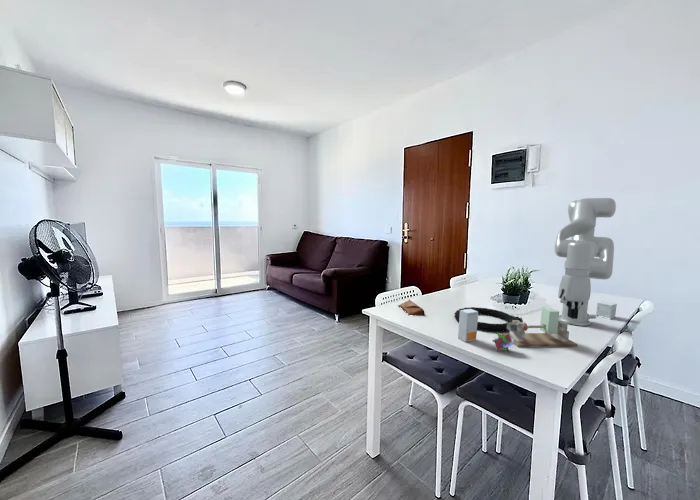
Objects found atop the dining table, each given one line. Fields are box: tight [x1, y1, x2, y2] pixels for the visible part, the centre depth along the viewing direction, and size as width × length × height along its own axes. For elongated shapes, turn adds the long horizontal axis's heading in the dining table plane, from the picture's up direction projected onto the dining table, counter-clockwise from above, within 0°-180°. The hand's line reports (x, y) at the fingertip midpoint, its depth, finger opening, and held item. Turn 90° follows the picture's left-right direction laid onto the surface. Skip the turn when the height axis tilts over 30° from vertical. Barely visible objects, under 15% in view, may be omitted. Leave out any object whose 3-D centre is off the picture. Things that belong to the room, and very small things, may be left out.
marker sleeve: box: [539, 307, 560, 334], centre depth 119 cm, size 4×4×9 cm
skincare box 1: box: [457, 309, 479, 343], centre depth 119 cm, size 6×4×12 cm
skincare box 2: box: [595, 300, 618, 319], centre depth 151 cm, size 6×6×7 cm
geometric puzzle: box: [492, 332, 515, 353], centre depth 110 cm, size 7×7×8 cm
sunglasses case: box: [397, 299, 425, 316], centre depth 157 cm, size 18×7×7 cm
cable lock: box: [454, 306, 524, 333], centre depth 140 cm, size 28×4×30 cm
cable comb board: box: [501, 320, 579, 348], centre depth 119 cm, size 25×11×8 cm, turn 93°
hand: (572, 317), depth 119 cm, fingers closed
